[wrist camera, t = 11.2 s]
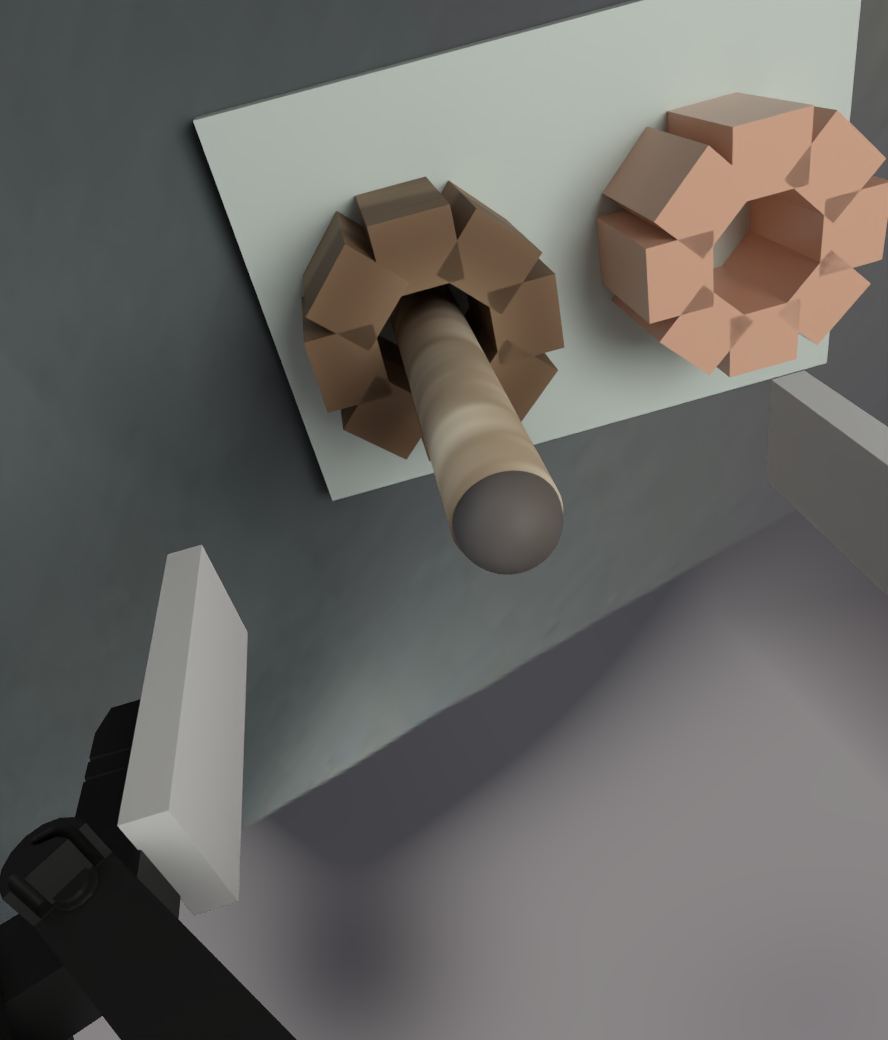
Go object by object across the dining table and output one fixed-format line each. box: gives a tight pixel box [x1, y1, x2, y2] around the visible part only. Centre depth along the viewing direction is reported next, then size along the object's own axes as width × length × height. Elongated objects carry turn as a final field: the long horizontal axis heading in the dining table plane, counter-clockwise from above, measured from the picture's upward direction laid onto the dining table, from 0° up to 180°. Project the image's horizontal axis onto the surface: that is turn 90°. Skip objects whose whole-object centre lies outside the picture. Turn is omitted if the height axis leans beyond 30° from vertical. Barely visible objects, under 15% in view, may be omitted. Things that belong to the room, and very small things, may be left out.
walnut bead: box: [301, 176, 564, 461], centre depth 28 cm, size 9×9×5 cm
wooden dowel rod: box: [390, 284, 563, 574], centre depth 23 cm, size 3×3×17 cm
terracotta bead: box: [596, 92, 888, 377], centre depth 28 cm, size 9×9×5 cm
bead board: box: [193, 0, 861, 501], centre depth 31 cm, size 24×16×1 cm, turn 102°
